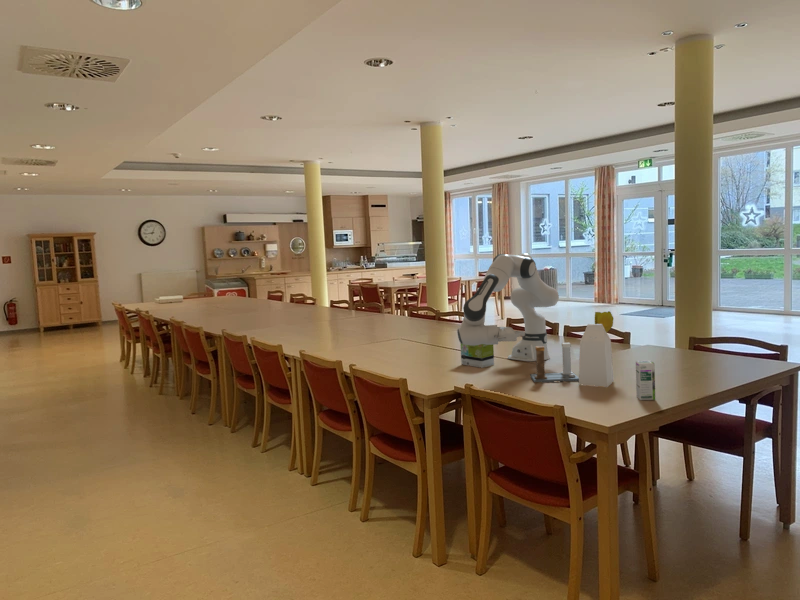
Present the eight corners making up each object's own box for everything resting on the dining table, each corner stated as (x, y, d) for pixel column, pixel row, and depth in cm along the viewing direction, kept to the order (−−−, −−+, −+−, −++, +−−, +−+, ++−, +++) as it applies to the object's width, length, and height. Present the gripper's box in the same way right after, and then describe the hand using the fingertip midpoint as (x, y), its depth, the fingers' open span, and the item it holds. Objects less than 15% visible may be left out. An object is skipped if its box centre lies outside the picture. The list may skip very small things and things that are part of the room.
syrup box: (639, 400, 225) (639, 363, 223) (636, 396, 230) (635, 360, 229) (655, 400, 224) (654, 362, 223) (651, 396, 230) (650, 359, 228)
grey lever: (562, 374, 269) (561, 344, 268) (560, 372, 273) (559, 342, 272) (573, 374, 269) (572, 343, 267) (571, 372, 273) (570, 342, 271)
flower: (615, 378, 263) (614, 311, 261) (596, 378, 265) (595, 312, 262) (613, 373, 271) (612, 309, 269) (595, 373, 273) (593, 310, 271)
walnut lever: (536, 378, 264) (534, 347, 262) (534, 376, 268) (533, 346, 266) (547, 378, 263) (546, 347, 262) (545, 376, 267) (544, 345, 266)
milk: (613, 381, 257) (612, 322, 255) (607, 387, 248) (605, 326, 246) (586, 379, 264) (584, 322, 262) (578, 384, 254) (577, 325, 252)
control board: (534, 382, 262) (534, 377, 262) (530, 376, 275) (529, 371, 275) (579, 381, 261) (579, 375, 261) (573, 374, 274) (573, 369, 273)
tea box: (460, 365, 311) (459, 337, 310) (473, 361, 318) (472, 335, 317) (482, 368, 300) (481, 339, 299) (494, 365, 307) (493, 337, 305)
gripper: (495, 331, 255) (527, 329, 254) (491, 325, 275) (521, 323, 274) (495, 345, 255) (528, 344, 254) (492, 338, 276) (521, 337, 274)
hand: (524, 333), depth 264 cm, fingers closed
